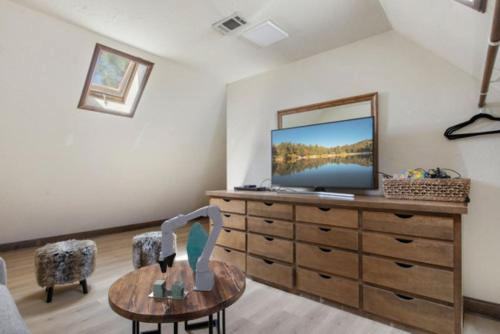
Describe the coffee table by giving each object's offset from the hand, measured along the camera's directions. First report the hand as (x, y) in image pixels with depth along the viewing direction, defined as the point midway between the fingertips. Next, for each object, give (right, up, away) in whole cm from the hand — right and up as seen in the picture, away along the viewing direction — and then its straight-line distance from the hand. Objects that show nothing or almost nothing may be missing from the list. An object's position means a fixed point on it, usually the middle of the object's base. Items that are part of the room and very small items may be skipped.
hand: (166, 270), depth 136 cm
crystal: (+12, -11, +24) cm, 28 cm away
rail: (+3, -10, -7) cm, 12 cm away
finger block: (-2, -9, -6) cm, 11 cm away
